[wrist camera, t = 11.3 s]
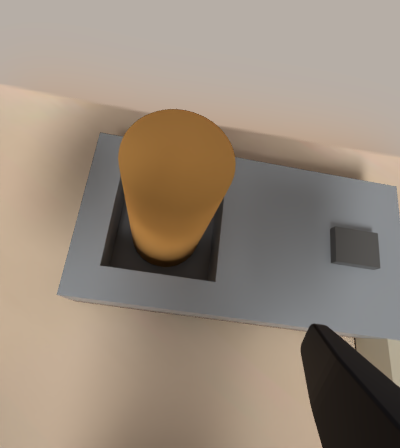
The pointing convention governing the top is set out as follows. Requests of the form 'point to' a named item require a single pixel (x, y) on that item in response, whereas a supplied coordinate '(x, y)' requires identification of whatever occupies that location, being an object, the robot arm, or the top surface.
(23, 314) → the top surface
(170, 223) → the orange cylinder
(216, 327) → the top surface
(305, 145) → the top surface
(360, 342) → the electrical outlet
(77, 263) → the grey block with pocket
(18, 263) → the top surface
